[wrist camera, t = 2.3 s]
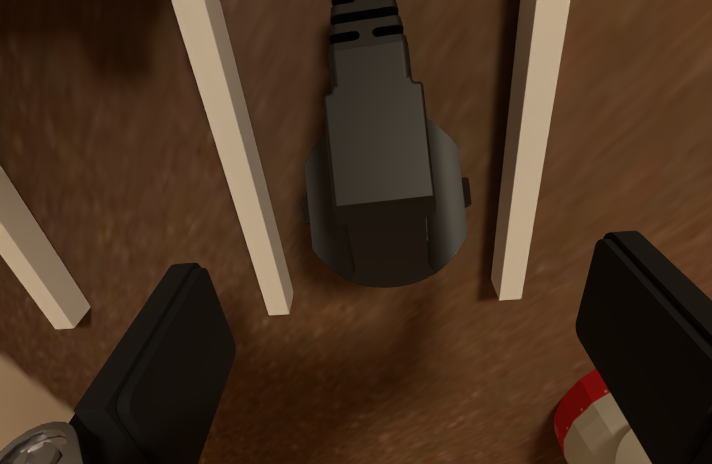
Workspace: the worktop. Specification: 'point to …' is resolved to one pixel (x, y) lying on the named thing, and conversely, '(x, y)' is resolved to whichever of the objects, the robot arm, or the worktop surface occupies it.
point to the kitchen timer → (595, 426)
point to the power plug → (381, 160)
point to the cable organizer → (247, 183)
